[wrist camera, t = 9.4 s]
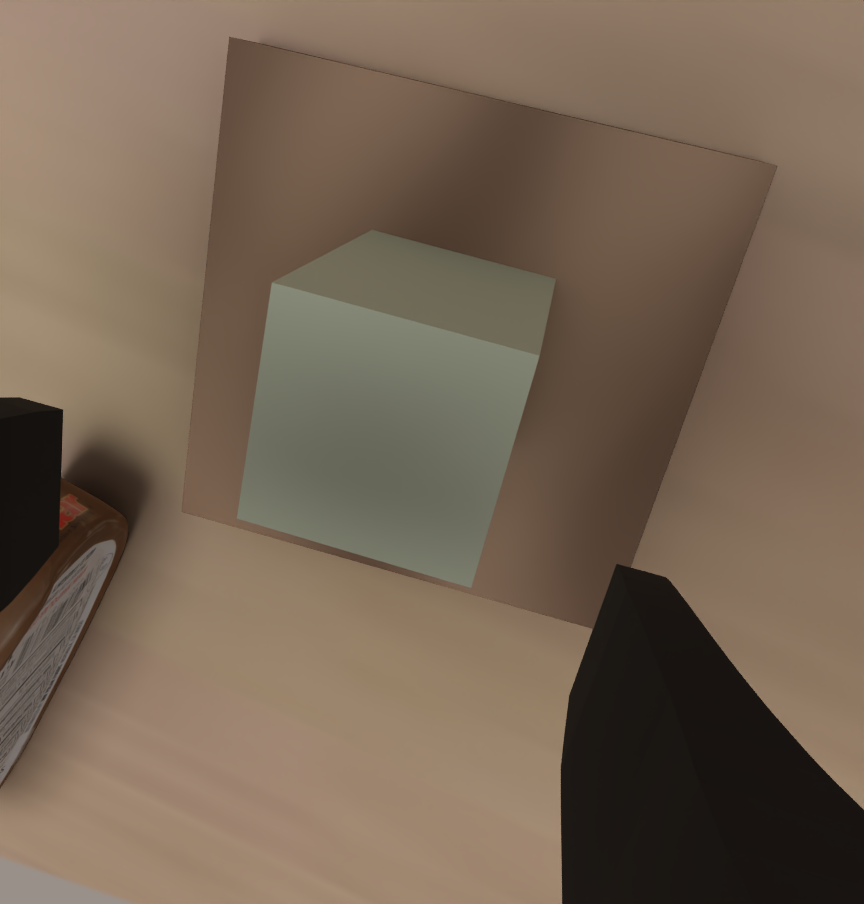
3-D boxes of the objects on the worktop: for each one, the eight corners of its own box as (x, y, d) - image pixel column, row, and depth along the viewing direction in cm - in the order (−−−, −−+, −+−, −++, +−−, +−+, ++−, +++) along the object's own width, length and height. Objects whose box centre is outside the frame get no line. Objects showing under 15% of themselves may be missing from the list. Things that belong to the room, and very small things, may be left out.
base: (762, 161, 17) (777, 165, 16) (605, 599, 21) (606, 632, 20) (257, 43, 18) (229, 36, 16) (206, 487, 22) (181, 512, 21)
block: (555, 278, 17) (539, 355, 12) (506, 450, 19) (471, 588, 13) (372, 229, 17) (271, 282, 12) (338, 402, 19) (237, 518, 14)
